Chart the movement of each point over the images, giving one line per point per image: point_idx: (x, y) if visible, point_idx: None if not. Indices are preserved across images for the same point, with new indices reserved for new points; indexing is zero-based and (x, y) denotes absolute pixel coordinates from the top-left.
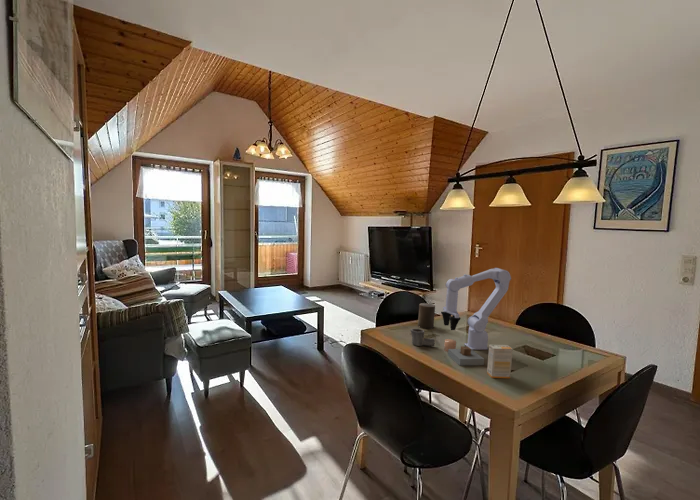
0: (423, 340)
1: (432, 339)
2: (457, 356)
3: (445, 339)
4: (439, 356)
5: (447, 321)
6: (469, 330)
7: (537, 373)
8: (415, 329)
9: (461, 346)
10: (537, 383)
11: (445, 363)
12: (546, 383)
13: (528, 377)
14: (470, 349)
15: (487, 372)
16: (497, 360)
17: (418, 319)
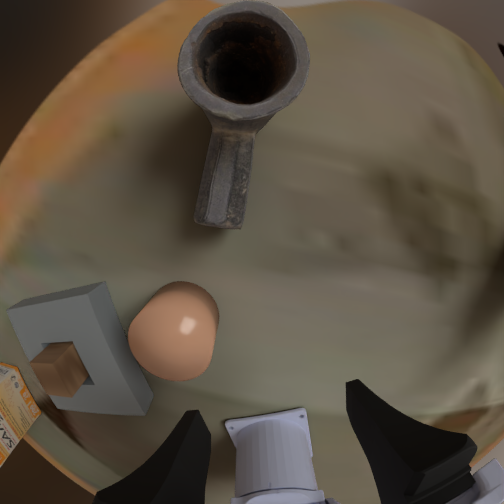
0: (213, 131)
1: (207, 207)
2: (22, 309)
3: (190, 318)
4: (76, 227)
5: (360, 431)
6: (281, 487)
7: (95, 475)
8: (287, 41)
9: (53, 366)
10: (40, 442)
11: (20, 241)
12: (52, 456)
13: (58, 447)
14: (46, 390)
15: (13, 368)
16: None
17: None
